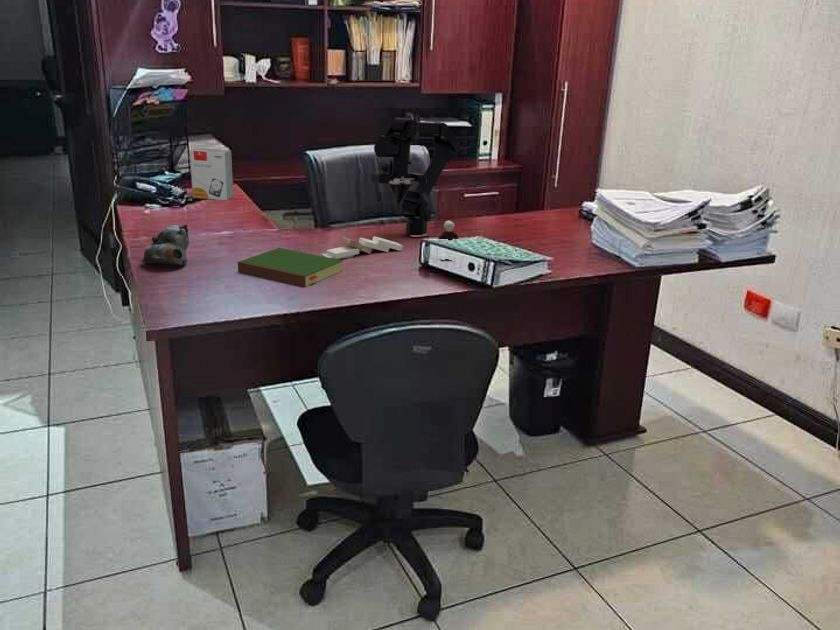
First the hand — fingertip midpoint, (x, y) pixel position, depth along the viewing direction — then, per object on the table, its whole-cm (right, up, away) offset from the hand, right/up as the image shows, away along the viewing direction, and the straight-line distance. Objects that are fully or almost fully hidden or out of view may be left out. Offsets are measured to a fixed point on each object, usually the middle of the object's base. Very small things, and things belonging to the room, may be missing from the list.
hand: (397, 203), depth 250 cm
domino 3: (-10, -17, -10) cm, 22 cm away
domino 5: (+1, -15, -5) cm, 16 cm away
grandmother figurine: (+16, -20, -15) cm, 30 cm away
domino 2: (-13, -17, -13) cm, 25 cm away
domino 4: (-4, -16, -7) cm, 17 cm away
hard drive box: (-80, +12, +61) cm, 101 cm away
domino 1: (-15, -18, -13) cm, 27 cm away
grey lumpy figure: (-69, -23, -28) cm, 77 cm away
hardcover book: (-30, -26, -31) cm, 51 cm away
